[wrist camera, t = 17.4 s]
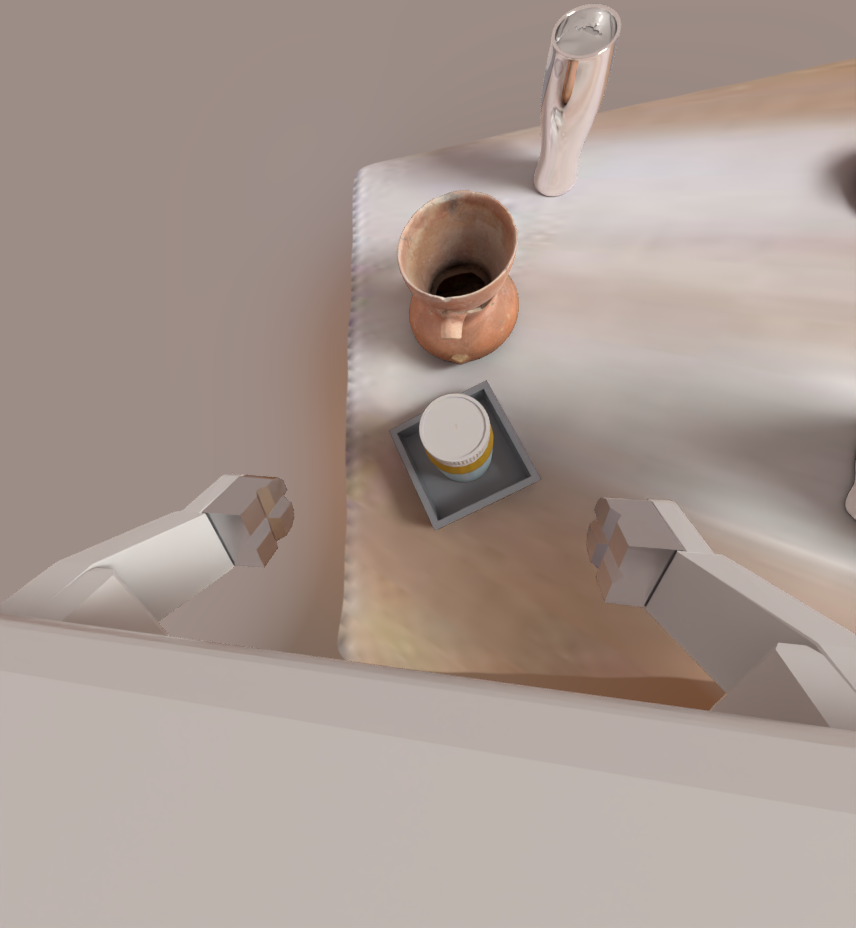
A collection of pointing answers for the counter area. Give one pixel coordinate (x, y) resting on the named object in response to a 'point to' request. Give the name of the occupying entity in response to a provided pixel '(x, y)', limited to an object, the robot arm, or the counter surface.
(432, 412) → the bottle
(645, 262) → the counter surface
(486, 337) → the ceramic jug
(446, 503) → the box
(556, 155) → the beer glass
